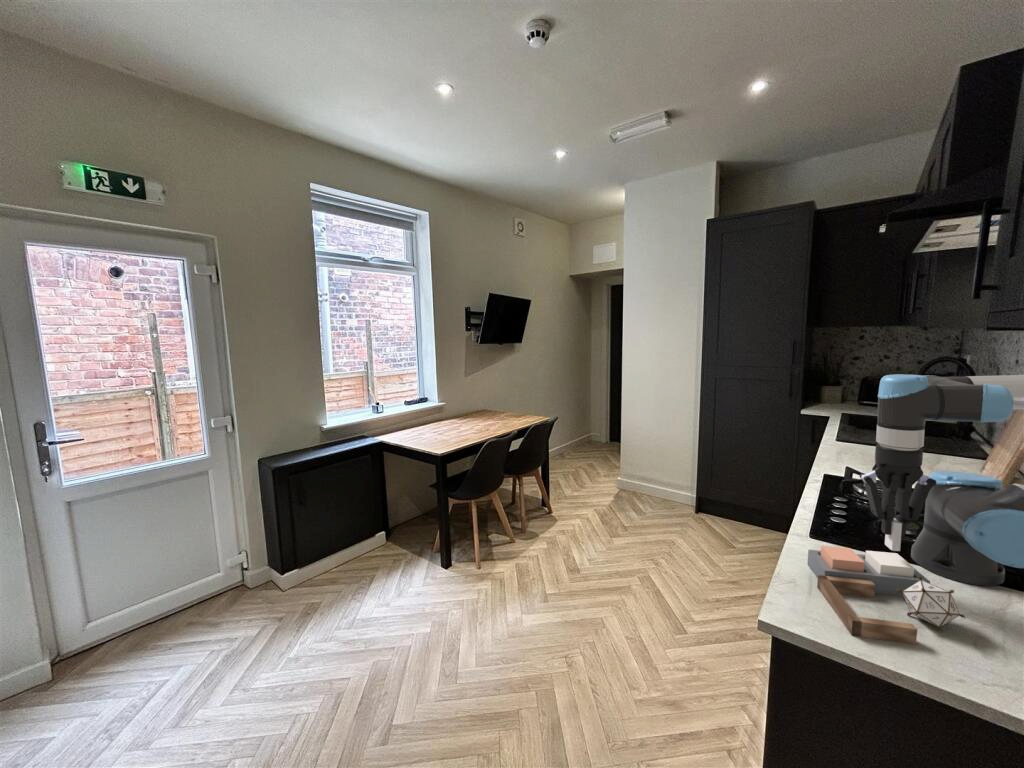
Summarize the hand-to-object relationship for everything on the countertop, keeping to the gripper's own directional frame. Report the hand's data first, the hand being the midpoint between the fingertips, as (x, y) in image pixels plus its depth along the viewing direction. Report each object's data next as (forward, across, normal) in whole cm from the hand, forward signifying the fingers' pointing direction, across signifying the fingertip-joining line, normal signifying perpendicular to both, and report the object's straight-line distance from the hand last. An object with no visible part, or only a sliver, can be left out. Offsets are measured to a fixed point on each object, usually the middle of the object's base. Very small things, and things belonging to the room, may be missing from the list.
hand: (892, 547), depth 91 cm
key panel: (+9, +5, 0) cm, 10 cm away
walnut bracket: (+9, +11, +12) cm, 19 cm away
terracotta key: (+6, +9, 0) cm, 11 cm away
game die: (+9, 0, +12) cm, 15 cm away
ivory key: (+6, 0, 0) cm, 6 cm away
